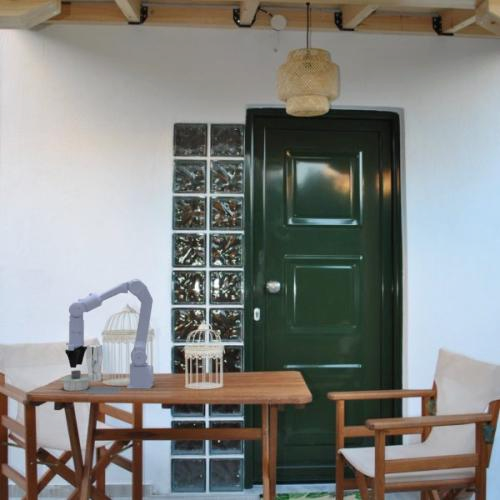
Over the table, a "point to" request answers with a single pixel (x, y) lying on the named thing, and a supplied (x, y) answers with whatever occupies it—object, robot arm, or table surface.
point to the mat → (103, 390)
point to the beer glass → (94, 361)
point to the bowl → (75, 386)
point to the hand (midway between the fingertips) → (76, 366)
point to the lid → (75, 377)
